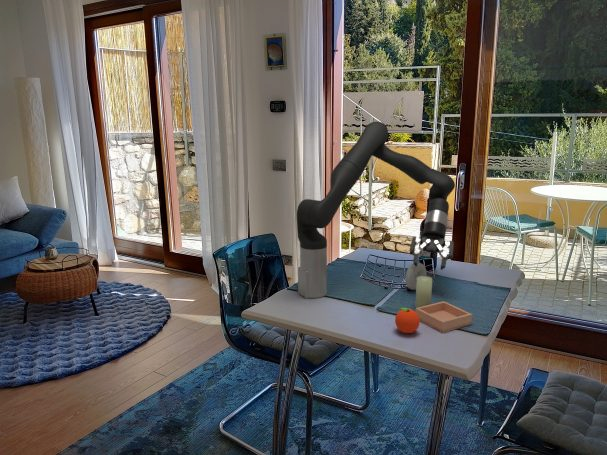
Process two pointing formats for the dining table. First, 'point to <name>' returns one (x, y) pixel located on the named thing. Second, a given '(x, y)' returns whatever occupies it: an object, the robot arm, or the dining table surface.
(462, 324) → the dish
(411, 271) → the donut
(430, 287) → the pale green cylinder
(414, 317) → the clementine
